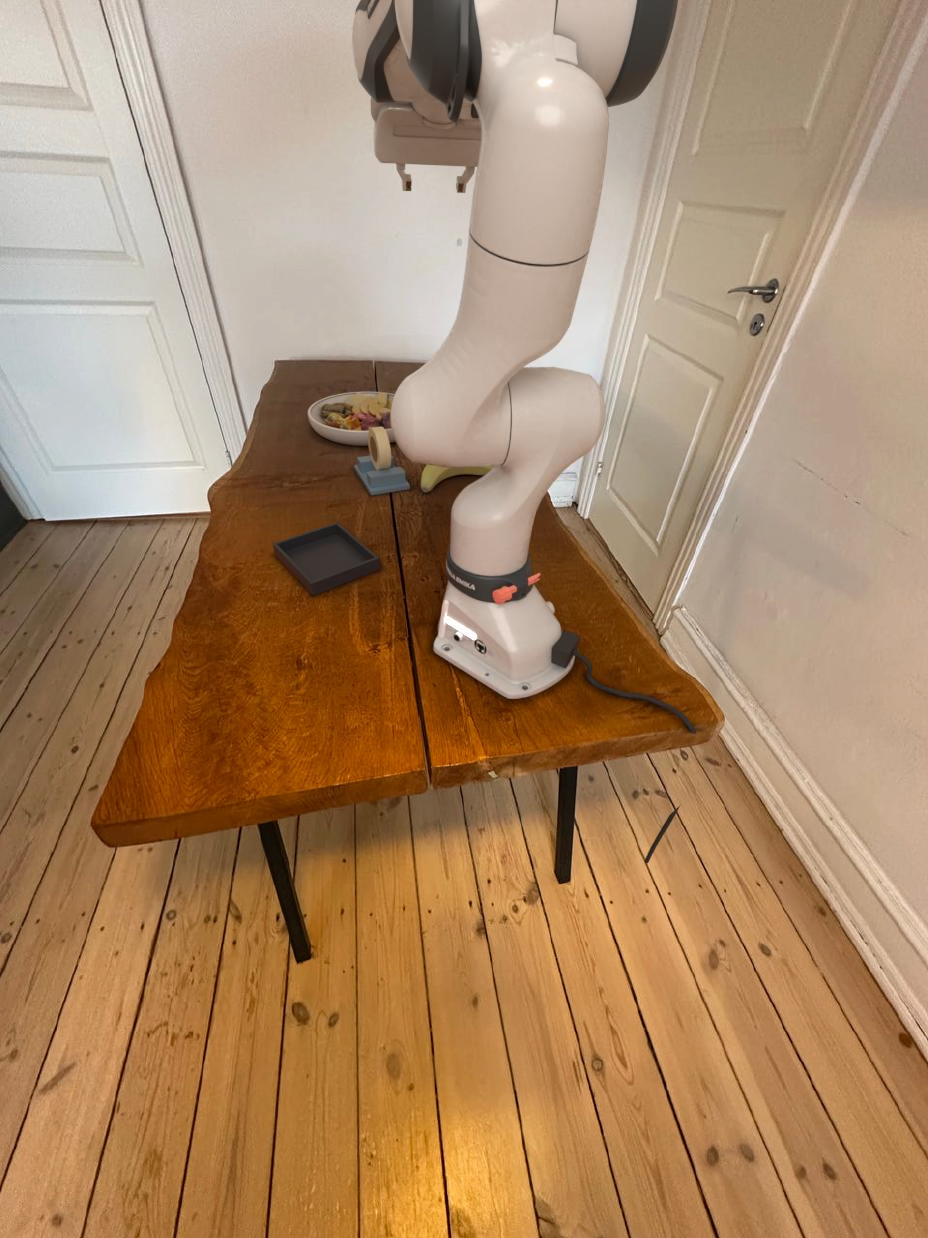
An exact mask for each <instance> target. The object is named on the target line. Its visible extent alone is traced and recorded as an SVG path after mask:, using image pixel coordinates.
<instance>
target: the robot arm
mask: <svg viewBox="0 0 928 1238" xmlns="http://www.w3.org/2000/svg"><path fill="white" fill-rule="evenodd" d="M678 4H679V0H359V2H358V4H357V6H356V8H355V13H354V19H353V22H352V23H353V25H352V35H351V36H352V38H351V40H352V42H351V43H352V44H351V45H352V46H351V47H352V57H353V63H354V69H355V71H356V74H357V79H358V82H359V84H360V85H361V86H362V88H363V89H364V90H365V92H366V93H367V94H368V95H369V96H370V97H371V98H370V115H371V119H372V120H373V122H374V125H373V151H374V152H373V153H374V156H375V158H376V159H377V160H378V162H379V163H381V164H395V166H396V171H397V173H398V175H399V178H400V179H401V187H402V188H401V189H402V192H412V183H413V182H412V181H413V180H412V175H411V173H406V171H405V170H406V165H420V166H442V167H465V169H464V171H463V172H462V173H461V175H457V176H456V180H455V181H456V183H455V190H456V193H458V194H465V193H467V191H466V190H467V184H468V183H469V181H470V180H471V178H472V177H473V176H474V174H475V177H474V178H475V179H474V183H473V184H474V185H473V190H472V191H473V192H472V199H471V205H470V206H471V208H470V214H469V216H470V217H469V225H468V226H469V227H468V238H467V249H466V258H465V267H464V274H463V281H462V288H461V289H462V290H461V294H460V300H459V306H458V310H457V314H456V317H455V320H454V322H453V324H452V327H451V328H450V331H449V333H448V335H447V336H446V338H445V340H444V341H443V343H442V344H441V345H440V347H439V348H438V349H437V351H436V352H435V353H434V354H433V356H431V358H430V359H429V360H428V361H427V362H425V363H424V364H423V365H422V366H421V367H419V368H417V370H415V371H414V372H412V373H411V374H409V375H407V376H406V377H405V378H404V379H403V380H402V381H401V382H400V384H399V386H398V387H397V389H396V391H395V393H394V394H395V395H394V398H393V401H392V405H391V412H390V421H391V428H392V433H393V436H394V439H395V441H396V442H395V443H396V445H397V446H398V448H399V450H400V451H401V452H402V454H403V455H404V456H405V457H406V458H407V460H409V461H411V462H412V463H416V464H421V465H433V466H440V467H447V468H453V467H475V466H493V467H492V468H491V469H490V470H489V472H488V473H487V474H485V475H482V476H481V477H480V478H478V479H476V480H474V481H473V482H471V483H469V484H467V485H466V486H465V487H464V488H463V489H462V490H461V491H460V492H459V493H458V495H457V496H456V498H455V499H454V501H453V503H452V506H451V508H450V509H451V510H450V535H449V536H450V537H449V547H448V549H447V552H446V559H445V568H446V570H445V571H446V572H445V574H446V578H447V584H446V588H445V593H444V596H443V600H442V603H441V612H440V617H439V620H438V622H437V636H436V637H435V639H434V641H433V645H432V646H433V647H432V651H433V652H434V653H435V655H438V656H439V657H441V658H442V659H444V660H445V661H447V662H449V663H450V664H452V665H453V666H455V667H456V668H458V669H460V670H462V671H463V672H465V673H466V674H468V676H471V677H472V678H474V679H475V680H477V681H478V682H480V683H482V684H483V685H485V686H487V688H489V689H492V691H494V692H496V693H498V694H499V695H501V696H502V697H503V698H506V699H509V700H516V699H518V700H519V699H523V698H528V697H532V696H535V695H537V694H539V693H542V692H543V691H545V690H547V689H549V688H550V687H553V686H554V685H556V684H557V683H559V682H560V681H561V680H562V679H564V678H565V676H567V675H568V674H569V673H570V671H571V670H572V669H573V666H574V664H575V660H576V658H577V659H579V660H580V661H581V662H583V664H584V665H585V666H586V670H585V678H586V680H587V681H588V682H589V683H590V684H591V685H592V686H593V687H595V688H597V689H599V690H601V691H604V692H607V693H610V694H613V695H614V696H619V697H622V698H627V699H636V700H643V701H646V702H649V703H651V704H654V705H656V706H659V707H661V708H663V709H665V710H667V711H669V712H671V713H672V714H673V715H675V716H676V717H678V718H679V719H680V720H681V721H682V722H683V723H684V725H685V726H686V727H687V729H688V730H689V732H690V733H691V734H697V731H696V728H695V727H694V725H693V724H692V722H691V721H690V719H689V718H688V717H687V716H686V715H685V714H684V713H683V712H681V711H680V710H679V709H677V708H675V707H674V706H672V705H670V704H668V703H666V702H664V701H662V700H659V699H657V698H655V697H652V696H649V695H646V694H643V693H636V692H635V693H634V692H628V691H627V692H626V691H622V690H619V689H615V688H613V687H610V686H606V685H603V684H601V683H600V682H597V681H596V680H595V679H594V678H593V677H592V676H591V675H592V672H593V665H592V662H590V659H588V658H587V657H586V656H584V655H583V654H582V653H580V652H579V651H578V646H579V643H580V638H581V636H580V635H579V634H577V633H573V632H571V631H568V630H564V629H563V630H562V626H561V623H560V622H559V620H558V619H557V617H556V616H555V612H556V610H555V606H554V604H553V603H552V602H551V601H550V600H548V601H546V600H545V598H544V597H543V595H542V594H541V592H540V591H539V590H538V589H539V588H537V586H536V585H535V583H537V582H538V581H540V580H541V578H540V576H541V575H542V574H541V572H538V573H535V574H534V570H533V566H532V560H531V555H530V553H529V549H530V543H531V537H532V531H533V526H534V522H535V518H536V514H537V511H538V509H539V507H540V504H541V502H542V500H543V499H544V497H545V495H546V494H547V493H548V491H549V490H550V488H551V486H553V484H554V483H555V482H556V480H557V479H558V478H559V477H560V476H561V474H563V473H564V471H566V470H567V469H568V468H569V467H571V466H572V464H574V463H575V462H577V461H578V460H579V459H581V458H583V457H584V456H586V455H587V454H589V453H590V452H591V450H592V449H593V448H594V447H595V445H596V444H597V443H598V441H599V440H600V437H601V435H602V433H603V430H604V428H605V427H604V426H605V422H606V415H607V412H606V411H607V410H606V409H607V407H606V401H605V397H604V393H603V392H602V389H601V387H600V385H599V384H598V382H597V381H596V379H595V378H594V377H593V376H592V375H591V374H589V373H585V372H581V371H577V370H572V369H568V368H562V367H556V366H528V365H530V364H531V363H532V362H535V361H536V360H538V359H540V358H542V357H544V356H545V355H546V354H548V353H549V352H551V351H552V350H553V349H555V348H556V347H557V346H558V345H559V343H560V342H561V341H562V340H563V338H564V337H565V335H566V334H567V332H568V331H569V328H570V327H571V325H572V320H573V316H574V313H575V310H576V305H577V302H578V298H579V293H580V290H581V285H582V282H583V279H584V278H583V277H584V274H585V270H586V266H587V261H588V257H589V254H590V250H591V246H592V242H593V238H594V233H595V229H596V225H597V219H598V214H599V209H600V204H601V197H602V191H603V185H604V178H605V170H606V161H607V153H608V142H609V127H610V114H609V113H610V112H609V108H611V107H618V106H620V105H621V106H622V105H624V104H627V103H629V102H632V101H634V100H636V99H637V98H639V97H640V96H641V95H642V94H643V93H644V91H645V90H646V89H647V87H648V86H649V85H650V83H651V81H652V80H653V79H654V77H655V76H656V74H657V72H658V70H659V69H660V66H661V64H662V62H663V60H664V57H665V56H666V55H665V54H666V52H667V49H668V46H669V42H670V39H671V37H672V33H673V29H674V25H675V20H676V16H677V10H678ZM475 169H476V170H475ZM475 171H476V172H475ZM680 807H681V805H679V806H678V807H676V808H675V809H674V810H673V811H672V812H671V813H670V814H669V815H668V816H667V818H666V820H665V822H664V824H663V825H662V827H661V829H660V830H659V832H658V833H657V835H656V837H655V839H654V841H653V842H652V844H651V846H650V848H649V850H648V852H647V854H646V856H645V858H644V863H645V864H649V863H650V860H651V859H652V856H653V854H654V853H655V851H656V848H657V847H658V845H659V843H660V841H661V840H662V838H663V836H665V834H666V832H667V830H668V828H669V827H670V824H671V823H672V821H673V820H674V818H675V817H676V815H677V813H678V811H679V809H680Z"/></svg>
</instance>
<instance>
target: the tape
mask: <svg viewBox="0 0 928 1238" xmlns="http://www.w3.org/2000/svg"><path fill="white" fill-rule="evenodd" d="M368 444H369V446H368V451H369V456H371V459H372V462H373V465H374V467H375V469H376V470H382V469H389V468H390V466H391V455H392V449H391V443H389V439H388V435H387V433H386V431H385V429H384V428H383V427H374V428H370V429H369V431H368Z"/></svg>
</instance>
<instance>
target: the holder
mask: <svg viewBox="0 0 928 1238" xmlns="http://www.w3.org/2000/svg"><path fill="white" fill-rule="evenodd" d="M356 462H357V464H354V465H353V470H354V471H355V472H356V475H357V476H358V477H359V479H360V481H361V482H362V484H363V485H364V487H365V488H366V490H367V491H368V493H369V494H370V496H377V495H383V494H388V493H395V492H401V491H407V490H411V485H410V483H409V482H408V480H407V479H406V471H405V470H404V469H403V467H402V466H396V465H395V457H394V455H392V454H391V466H390V468H389V469H382V470H376V469H375V467H374V465H373V462H372V459H371V456H370V455H364V456H357V457H356Z"/></svg>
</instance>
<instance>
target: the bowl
mask: <svg viewBox="0 0 928 1238" xmlns="http://www.w3.org/2000/svg"><path fill="white" fill-rule="evenodd" d="M394 395H395V393H389V392H383V391H351V392H344V393H338V394H333V395H329V396H326V397H324V398H321V399H319V400H317V401H315V402H314V403H313V404H311V405H310V406H309V408H308V410H307V417H308V421H309V424H310V426H311V427H312V429H313V430H314V431H315V432H316V433H317V434H318V435H319V436H321V437H323V438H325V439H326V440H329V441H331V442H334V443H338V444H342V445H348V446H358V447H369V444H368V431H369V429H370V428H374V427H383V428H384V429H385V431H386V433H387V435H388V439H389V443H390V444H393V443H396V441H395V439H394V436H393V433H392V428H391V421H390V412H391V405H392V401H393V398H394Z"/></svg>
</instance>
